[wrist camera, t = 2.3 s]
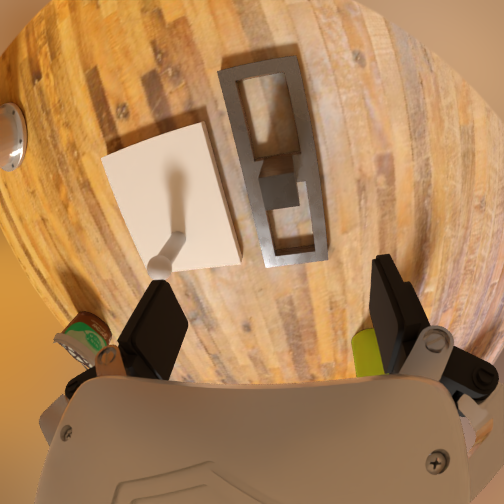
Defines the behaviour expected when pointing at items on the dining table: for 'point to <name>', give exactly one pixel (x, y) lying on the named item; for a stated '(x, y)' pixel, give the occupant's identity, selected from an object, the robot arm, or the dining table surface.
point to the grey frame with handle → (277, 163)
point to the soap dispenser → (367, 354)
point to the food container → (84, 337)
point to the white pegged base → (174, 202)
